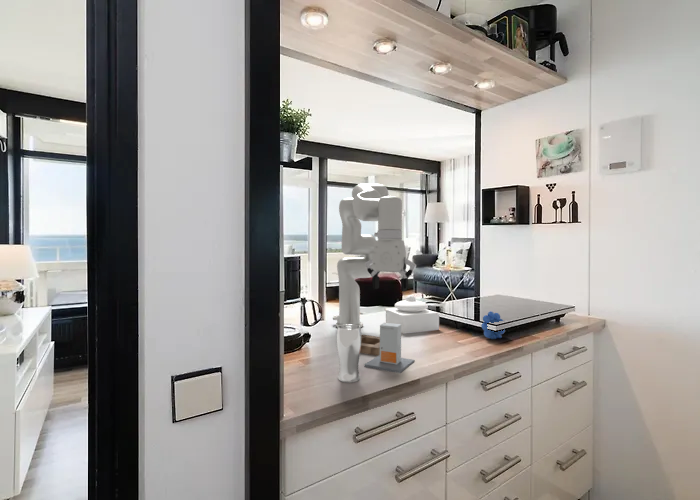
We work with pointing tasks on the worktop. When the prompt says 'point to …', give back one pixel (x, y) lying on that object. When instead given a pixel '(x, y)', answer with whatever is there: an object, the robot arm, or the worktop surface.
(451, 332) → the worktop surface
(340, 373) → the beer glass
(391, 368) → the slate mat
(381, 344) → the skincare box
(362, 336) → the walnut collar
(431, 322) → the butter dish
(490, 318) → the grapes
